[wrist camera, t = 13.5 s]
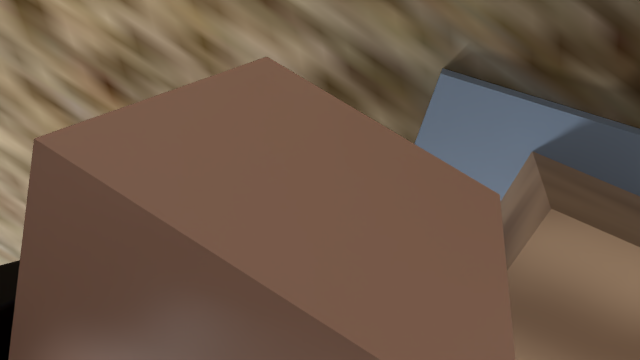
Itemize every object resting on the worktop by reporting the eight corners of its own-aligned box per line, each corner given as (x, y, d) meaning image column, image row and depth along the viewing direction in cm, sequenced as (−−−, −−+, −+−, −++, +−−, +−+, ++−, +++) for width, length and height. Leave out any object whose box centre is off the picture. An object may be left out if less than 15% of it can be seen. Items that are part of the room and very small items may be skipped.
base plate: (613, 388, 21) (621, 409, 20) (362, 285, 24) (357, 299, 22) (796, 176, 16) (818, 190, 15) (442, 68, 18) (440, 73, 17)
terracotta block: (315, 412, 12) (222, 659, 8) (164, 313, 12) (-8, 493, 8) (499, 194, 8) (523, 452, 4) (266, 56, 8) (34, 139, 4)
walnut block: (543, 343, 20) (561, 442, 16) (441, 294, 21) (432, 376, 16) (661, 205, 16) (729, 286, 12) (532, 151, 17) (551, 208, 13)
